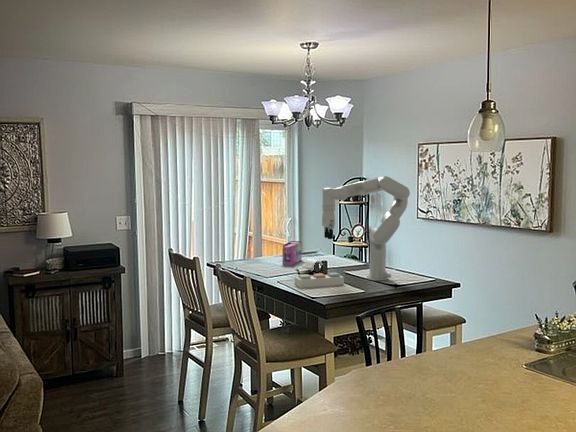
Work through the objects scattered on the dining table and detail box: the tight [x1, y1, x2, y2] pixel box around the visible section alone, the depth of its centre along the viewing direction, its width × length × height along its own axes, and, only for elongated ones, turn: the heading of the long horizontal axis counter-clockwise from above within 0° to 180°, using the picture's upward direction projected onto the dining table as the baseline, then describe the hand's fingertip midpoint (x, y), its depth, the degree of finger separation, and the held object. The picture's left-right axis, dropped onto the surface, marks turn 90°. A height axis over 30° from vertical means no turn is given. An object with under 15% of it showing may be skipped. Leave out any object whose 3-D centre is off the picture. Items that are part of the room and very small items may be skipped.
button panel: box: [294, 274, 345, 289], centre depth 329 cm, size 27×9×4 cm, turn 107°
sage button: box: [298, 273, 312, 279], centre depth 326 cm, size 5×5×3 cm
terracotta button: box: [312, 272, 326, 278], centre depth 328 cm, size 5×5×3 cm
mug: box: [301, 258, 324, 272], centre depth 365 cm, size 12×10×8 cm
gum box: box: [282, 240, 302, 266], centre depth 400 cm, size 24×8×14 cm, turn 163°
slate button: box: [327, 272, 340, 277], centre depth 331 cm, size 5×5×3 cm
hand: (328, 238), depth 341 cm, fingers open, 4 cm apart
